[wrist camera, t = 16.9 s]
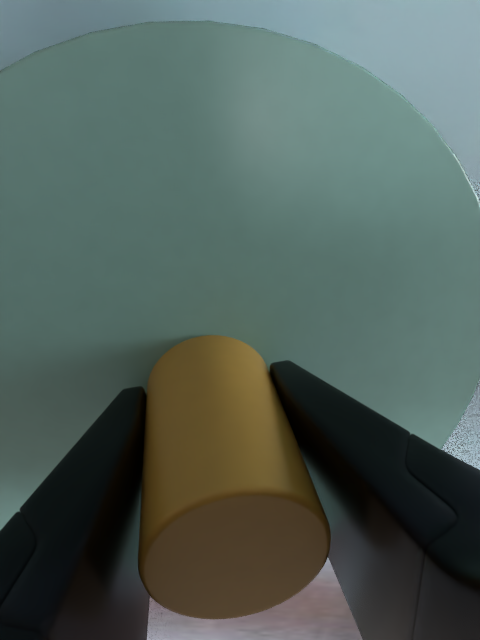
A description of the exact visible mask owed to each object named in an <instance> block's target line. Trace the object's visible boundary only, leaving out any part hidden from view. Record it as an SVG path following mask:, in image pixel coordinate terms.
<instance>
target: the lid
mask: <svg viewBox="0 0 480 640" xmlns="http://www.w3.org/2000/svg"><path fill="white" fill-rule="evenodd" d="M285 360H289V361H291V362H293V363H295V364H297V365H298V366H300V367H302V368H303V369H305V370H307V371H308V372H310V373H312V374H313V375H315V376H317V377H318V378H320V379H322V380H324V381H325V382H327V383H329V384H330V385H332V386H334V387H335V388H337V389H339V390H340V391H342V392H344V393H345V394H347V395H349V396H351V397H352V398H354V399H356V400H357V401H359V402H361V403H362V404H364V405H366V406H367V407H369V408H371V409H372V410H374V411H376V412H378V413H379V414H381V415H383V416H384V417H386V418H388V419H389V420H391V421H393V422H394V423H396V424H398V425H399V426H401V427H403V428H405V429H406V430H408V431H409V432H410V435H411V434H415V435H417V436H418V437H420V438H422V439H423V440H425V441H427V442H428V443H430V444H432V445H434V446H435V447H437V448H439V449H442V447H443V446H444V444H445V443H446V441H447V440H448V438H449V437H450V435H451V434H452V432H453V431H454V429H455V428H456V427H457V425H458V423H459V421H460V420H461V418H462V416H463V414H464V412H465V410H466V408H467V406H468V405H469V403H470V401H471V399H472V397H473V394H474V392H475V389H476V387H477V384H478V382H479V379H480V203H479V200H478V197H477V195H476V193H475V191H474V189H473V187H472V185H471V183H470V181H469V179H468V177H467V175H466V173H465V172H464V170H463V168H462V166H461V164H460V162H459V160H458V159H457V157H456V156H455V155H454V153H453V152H452V151H451V149H450V148H449V147H448V145H447V144H446V142H445V141H444V140H443V138H442V137H441V136H440V134H439V133H438V132H437V130H436V129H435V128H434V126H433V125H432V124H431V123H430V122H429V121H428V120H427V119H426V118H425V117H424V116H423V115H422V114H421V113H419V112H418V111H417V110H416V109H415V108H414V107H413V106H412V105H411V104H410V103H409V102H408V101H407V100H406V99H405V98H404V97H403V96H402V95H401V94H400V93H398V92H397V91H395V90H394V89H393V88H391V87H390V86H388V85H387V84H385V83H384V82H383V81H381V80H380V79H378V78H377V77H376V76H374V75H373V74H371V73H370V72H368V71H367V70H366V69H364V68H363V67H361V66H359V65H357V64H355V63H353V62H351V61H349V60H347V59H345V58H343V57H341V56H339V55H337V54H334V53H332V52H330V51H328V50H326V49H324V48H322V47H320V46H318V45H316V44H313V43H310V42H306V41H303V40H300V39H297V38H293V37H290V36H287V35H283V34H280V33H277V32H273V31H270V30H267V29H263V28H256V27H249V26H242V25H235V24H227V23H220V22H213V21H169V22H146V23H140V24H135V25H129V26H123V27H118V28H112V29H107V30H101V31H95V32H90V33H88V34H85V35H82V36H79V37H76V38H73V39H70V40H67V41H65V42H62V43H59V44H56V45H53V46H50V47H47V48H45V49H42V50H39V51H36V52H34V53H32V54H30V55H28V56H27V57H25V58H23V59H21V60H19V61H17V62H16V63H14V64H12V65H10V66H8V67H6V68H4V69H3V70H1V71H0V530H1V529H2V528H3V527H4V526H5V524H6V523H7V522H8V521H9V520H10V519H11V517H12V516H13V515H14V514H15V513H16V512H20V507H21V506H22V505H23V504H24V503H25V502H26V500H27V499H28V498H29V497H30V496H31V495H32V493H33V492H34V491H35V490H36V489H37V488H38V486H39V485H40V484H41V483H42V482H43V481H44V480H45V478H46V477H47V476H48V475H49V474H50V473H51V471H52V470H53V469H54V468H55V467H56V466H57V465H58V463H59V462H60V461H61V460H62V459H63V458H64V456H65V455H66V454H67V453H68V452H69V451H70V449H71V448H72V447H73V446H74V445H75V444H76V443H77V441H78V440H79V439H80V438H81V437H82V436H83V434H84V433H85V432H86V431H87V430H88V429H89V428H90V426H91V425H92V424H93V423H94V422H95V421H96V419H97V418H98V417H99V416H100V415H101V414H102V412H103V411H104V410H105V409H106V408H107V407H108V406H109V404H110V403H111V402H112V401H113V400H114V399H115V397H116V396H117V395H118V394H119V393H120V392H121V391H122V390H123V389H126V388H131V387H137V386H142V387H143V388H144V390H145V393H146V414H145V433H144V452H143V471H142V490H141V510H140V529H139V548H138V571H139V576H140V579H141V581H142V583H143V585H144V587H145V589H146V591H147V592H148V594H149V595H150V596H151V597H152V598H153V599H154V600H155V601H156V602H157V603H159V604H160V605H162V606H163V607H165V608H167V609H169V610H171V611H173V612H175V613H178V614H181V615H185V616H189V617H194V618H201V619H228V618H237V617H242V616H247V615H251V614H255V613H258V612H261V611H264V610H267V609H270V608H272V607H274V606H276V605H279V604H281V603H282V602H284V601H286V600H288V599H290V598H291V597H293V596H294V595H296V594H297V593H299V592H300V591H301V590H302V589H304V588H305V587H306V586H307V585H308V584H309V583H310V582H311V581H312V580H313V579H314V578H315V577H316V576H317V575H318V573H319V572H320V570H321V569H322V567H323V566H324V564H325V562H326V560H327V557H328V554H329V550H330V543H331V531H330V525H329V522H328V519H327V517H326V514H325V512H324V509H323V507H322V504H321V502H320V499H319V497H318V494H317V491H316V489H315V486H314V484H313V481H312V479H311V476H310V474H309V471H308V469H307V466H306V464H305V461H304V459H303V456H302V454H301V451H300V449H299V446H298V443H297V441H296V438H295V436H294V433H293V431H292V428H291V426H290V423H289V421H288V418H287V416H286V413H285V411H284V408H283V406H282V403H281V400H280V398H279V395H278V393H277V390H276V388H275V385H274V383H273V380H272V378H271V375H270V364H271V363H274V362H279V361H285Z"/></svg>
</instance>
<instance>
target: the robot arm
mask: <svg viewBox="0 0 480 640" xmlns="http://www.w3.org/2000/svg"><path fill="white" fill-rule="evenodd" d="M270 375H271V378H272V380H273V383H274V385H275V388H276V390H277V393H278V395H279V398H280V400H281V403H282V406H283V408H284V411H285V413H286V416H287V418H288V421H289V423H290V426H291V428H292V431H293V433H294V436H295V438H296V441H297V443H298V446H299V449H300V451H301V454H302V456H303V459H304V461H305V464H306V466H307V469H308V471H309V474H310V476H311V479H312V481H313V484H314V486H315V489H316V491H317V494H318V497H319V499H320V502H321V504H322V507H323V509H324V512H325V514H326V517H327V519H328V522H329V525H330V531H331V543H330V550H329V554H328V558H329V560H330V562H331V565H332V567H333V570H334V572H335V574H336V577H337V579H338V581H339V584H340V586H341V589H342V591H343V593H344V596H345V598H346V600H347V603H348V605H349V608H350V610H351V612H352V615H353V617H354V620H355V622H356V624H357V627H358V629H359V631H360V634H361V636H362V639H363V640H480V470H479V469H477V468H475V467H473V466H471V465H469V464H467V463H465V462H463V461H461V460H459V459H457V458H455V457H453V456H452V455H450V454H448V453H446V452H444V451H443V450H441V449H439V448H437V447H435V446H434V445H432V444H430V443H428V442H427V441H425V440H423V439H422V438H420V437H418V436H417V435H415V434H411V435H410V432H409V431H408V430H406V429H405V428H403V427H401V426H399V425H398V424H396V423H394V422H393V421H391V420H389V419H388V418H386V417H384V416H383V415H381V414H379V413H378V412H376V411H374V410H372V409H371V408H369V407H367V406H366V405H364V404H362V403H361V402H359V401H357V400H356V399H354V398H352V397H351V396H349V395H347V394H345V393H344V392H342V391H340V390H339V389H337V388H335V387H334V386H332V385H330V384H329V383H327V382H325V381H324V380H322V379H320V378H318V377H317V376H315V375H313V374H312V373H310V372H308V371H307V370H305V369H303V368H302V367H300V366H298V365H297V364H295V363H293V362H291V361H289V360H285V361H279V362H274V363H271V364H270ZM145 414H146V393H145V390H144V388H143V387H142V386H137V387H131V388H126V389H123V390H122V391H121V392H120V393H119V394H118V395H117V396H116V397H115V399H114V400H113V401H112V402H111V403H110V404H109V406H108V407H107V408H106V409H105V410H104V411H103V412H102V414H101V415H100V416H99V417H98V418H97V419H96V421H95V422H94V423H93V424H92V425H91V426H90V428H89V429H88V430H87V431H86V432H85V433H84V434H83V436H82V437H81V438H80V439H79V440H78V441H77V443H76V444H75V445H74V446H73V447H72V448H71V449H70V451H69V452H68V453H67V454H66V455H65V456H64V458H63V459H62V460H61V461H60V462H59V463H58V465H57V466H56V467H55V468H54V469H53V470H52V471H51V473H50V474H49V475H48V476H47V477H46V478H45V480H44V481H43V482H42V483H41V484H40V485H39V486H38V488H37V489H36V490H35V491H34V492H33V493H32V495H31V496H30V497H29V498H28V499H27V500H26V502H25V503H24V504H23V505H22V506H21V507H20V512H16V513H15V514H14V515H13V516H12V517H11V519H10V520H9V521H8V522H7V523H6V524H5V526H4V527H3V528H2V529H1V530H0V640H147V626H148V612H149V599H150V595H149V594H148V592H147V591H146V589H145V587H144V585H143V583H142V581H141V579H140V576H139V571H138V548H139V529H140V510H141V490H142V471H143V452H144V433H145Z"/></svg>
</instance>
